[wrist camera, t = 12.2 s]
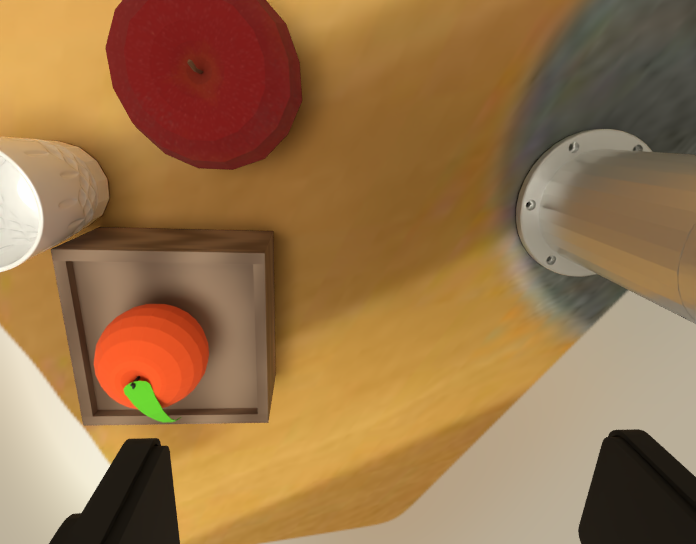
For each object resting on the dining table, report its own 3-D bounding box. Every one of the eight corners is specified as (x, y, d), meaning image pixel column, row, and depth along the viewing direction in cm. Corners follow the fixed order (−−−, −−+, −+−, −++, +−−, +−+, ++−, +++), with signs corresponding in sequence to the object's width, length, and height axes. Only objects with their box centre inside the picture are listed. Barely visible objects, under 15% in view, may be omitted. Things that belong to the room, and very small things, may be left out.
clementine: (240, 365, 33) (221, 426, 26) (157, 394, 33) (118, 463, 26) (192, 274, 30) (157, 317, 23) (103, 307, 30) (43, 359, 24)
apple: (125, 81, 31) (23, 54, 20) (224, -32, 30) (171, -128, 19) (237, 190, 34) (201, 218, 23) (332, 94, 33) (342, 75, 22)
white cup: (122, 236, 35) (52, 276, 25) (20, 232, 34) (-92, 271, 25) (112, 136, 32) (30, 139, 23) (2, 129, 32) (-130, 128, 22)
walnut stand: (273, 231, 36) (264, 253, 29) (275, 375, 40) (268, 422, 34) (99, 227, 34) (50, 249, 28) (121, 376, 39) (83, 425, 32)
